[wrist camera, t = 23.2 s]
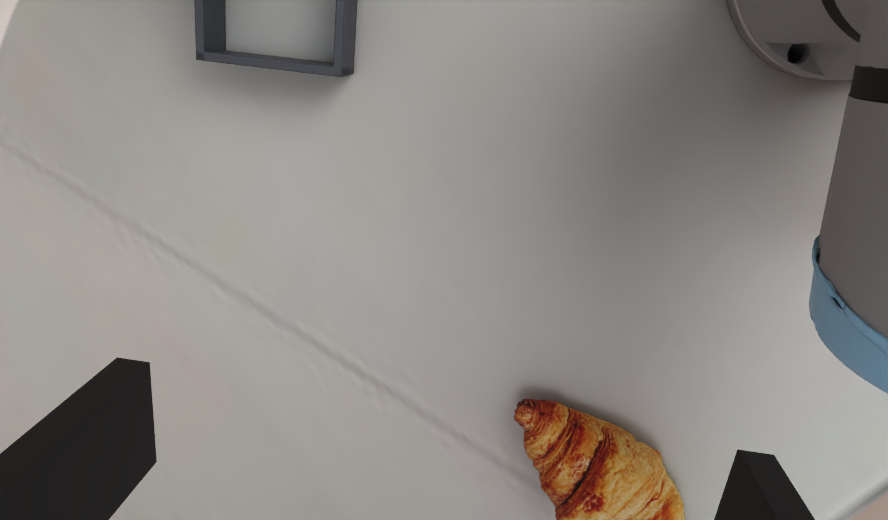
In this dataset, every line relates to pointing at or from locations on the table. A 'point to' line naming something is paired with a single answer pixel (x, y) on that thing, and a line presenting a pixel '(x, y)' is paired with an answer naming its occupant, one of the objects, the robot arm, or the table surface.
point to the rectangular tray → (214, 50)
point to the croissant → (595, 466)
